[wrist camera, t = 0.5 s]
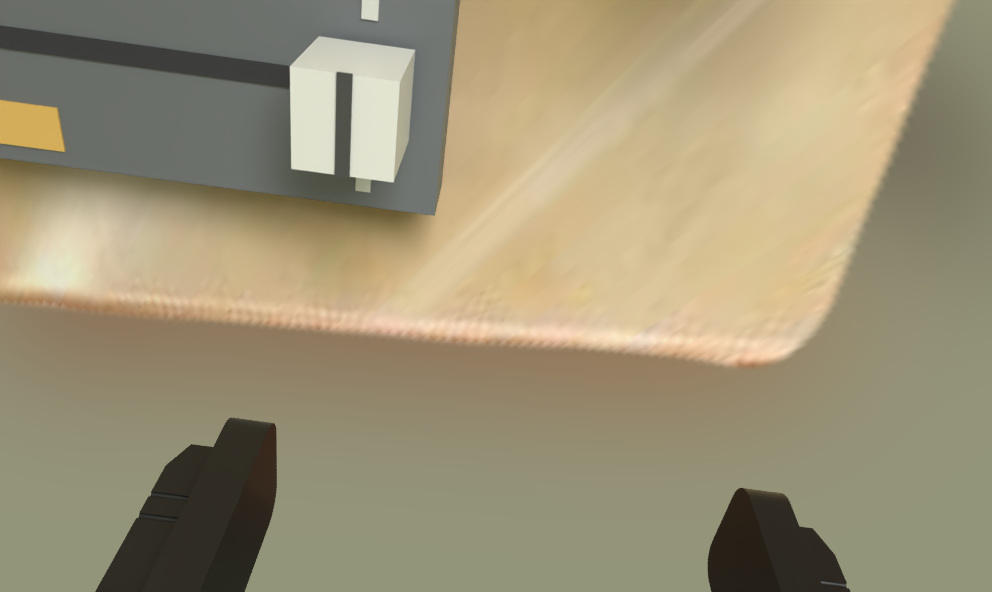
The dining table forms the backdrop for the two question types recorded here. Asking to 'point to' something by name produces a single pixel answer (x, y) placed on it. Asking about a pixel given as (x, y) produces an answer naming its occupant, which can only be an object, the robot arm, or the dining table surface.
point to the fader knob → (351, 108)
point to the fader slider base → (210, 90)
